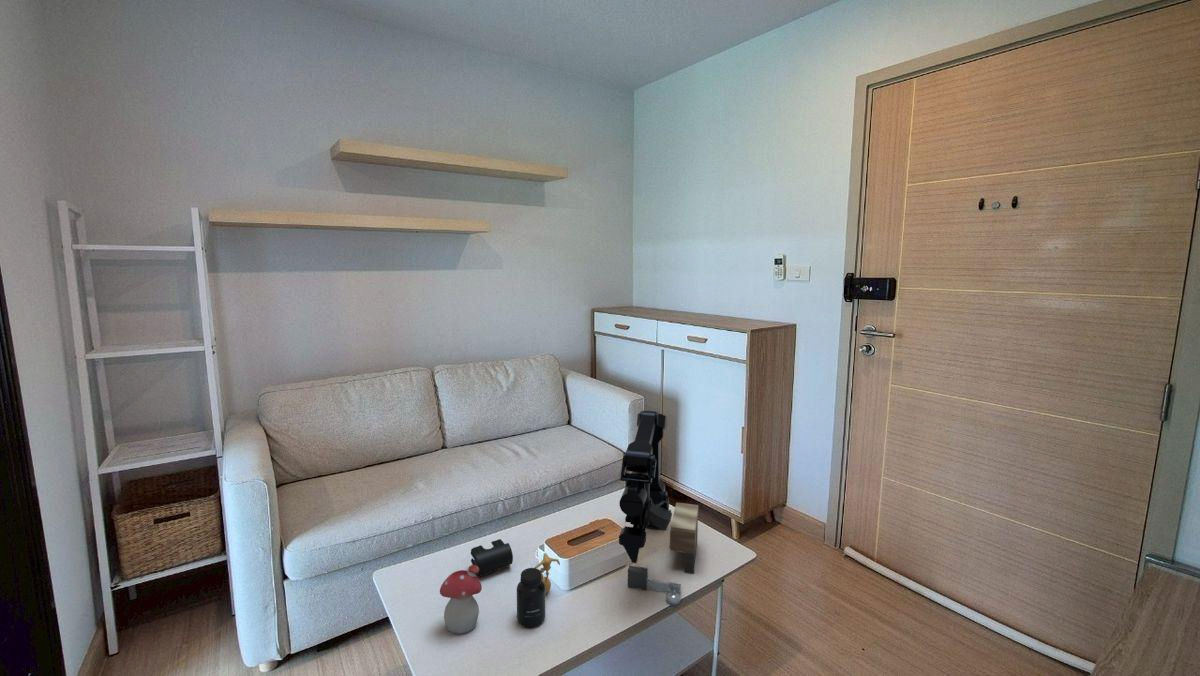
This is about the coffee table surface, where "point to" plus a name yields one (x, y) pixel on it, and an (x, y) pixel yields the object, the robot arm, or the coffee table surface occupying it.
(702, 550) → the coffee table surface
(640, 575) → the blade tool
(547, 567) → the figurine
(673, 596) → the grey metal dome
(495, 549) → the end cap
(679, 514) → the bronze curved block
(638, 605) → the coffee table surface
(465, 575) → the decorative ornament
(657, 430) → the robot arm
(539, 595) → the supplement bottle
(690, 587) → the coffee table surface
